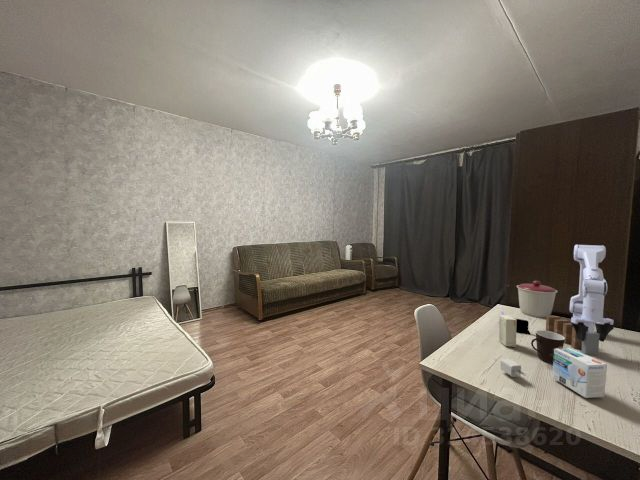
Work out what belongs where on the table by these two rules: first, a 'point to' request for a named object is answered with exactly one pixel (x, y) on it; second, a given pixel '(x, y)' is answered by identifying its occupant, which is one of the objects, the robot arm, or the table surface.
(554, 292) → the canister
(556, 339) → the coffee mug
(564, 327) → the domino
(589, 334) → the domino
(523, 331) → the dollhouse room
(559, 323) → the domino
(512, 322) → the skincare box
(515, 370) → the usb wall charger
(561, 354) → the light bulb box
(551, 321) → the domino
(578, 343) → the domino
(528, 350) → the table surface
